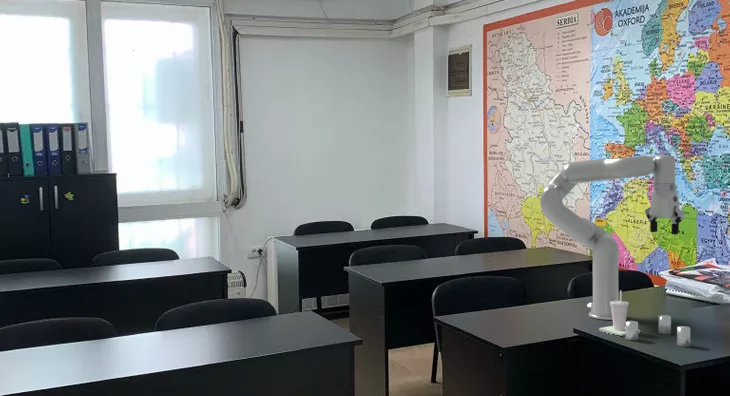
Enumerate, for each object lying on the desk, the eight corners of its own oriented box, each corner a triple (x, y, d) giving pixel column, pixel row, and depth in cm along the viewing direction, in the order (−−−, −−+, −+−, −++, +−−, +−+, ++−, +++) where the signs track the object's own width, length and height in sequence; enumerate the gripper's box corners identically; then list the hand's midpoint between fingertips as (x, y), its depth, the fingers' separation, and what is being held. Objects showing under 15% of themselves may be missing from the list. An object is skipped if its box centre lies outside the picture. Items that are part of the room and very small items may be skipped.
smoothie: (628, 331, 251) (628, 292, 250) (609, 330, 253) (609, 291, 252) (628, 327, 257) (628, 289, 256) (609, 326, 259) (609, 288, 258)
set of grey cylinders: (623, 338, 246) (623, 321, 245) (663, 331, 255) (663, 314, 255) (667, 351, 229) (667, 332, 229) (709, 342, 239) (709, 324, 239)
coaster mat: (598, 330, 257) (598, 328, 257) (618, 327, 262) (618, 324, 262) (620, 336, 248) (620, 334, 248) (640, 333, 253) (640, 330, 253)
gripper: (690, 188, 264) (690, 234, 265) (652, 187, 279) (652, 230, 280) (677, 189, 260) (676, 235, 261) (639, 187, 276) (638, 231, 277)
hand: (664, 233), depth 271 cm, fingers open, 9 cm apart
